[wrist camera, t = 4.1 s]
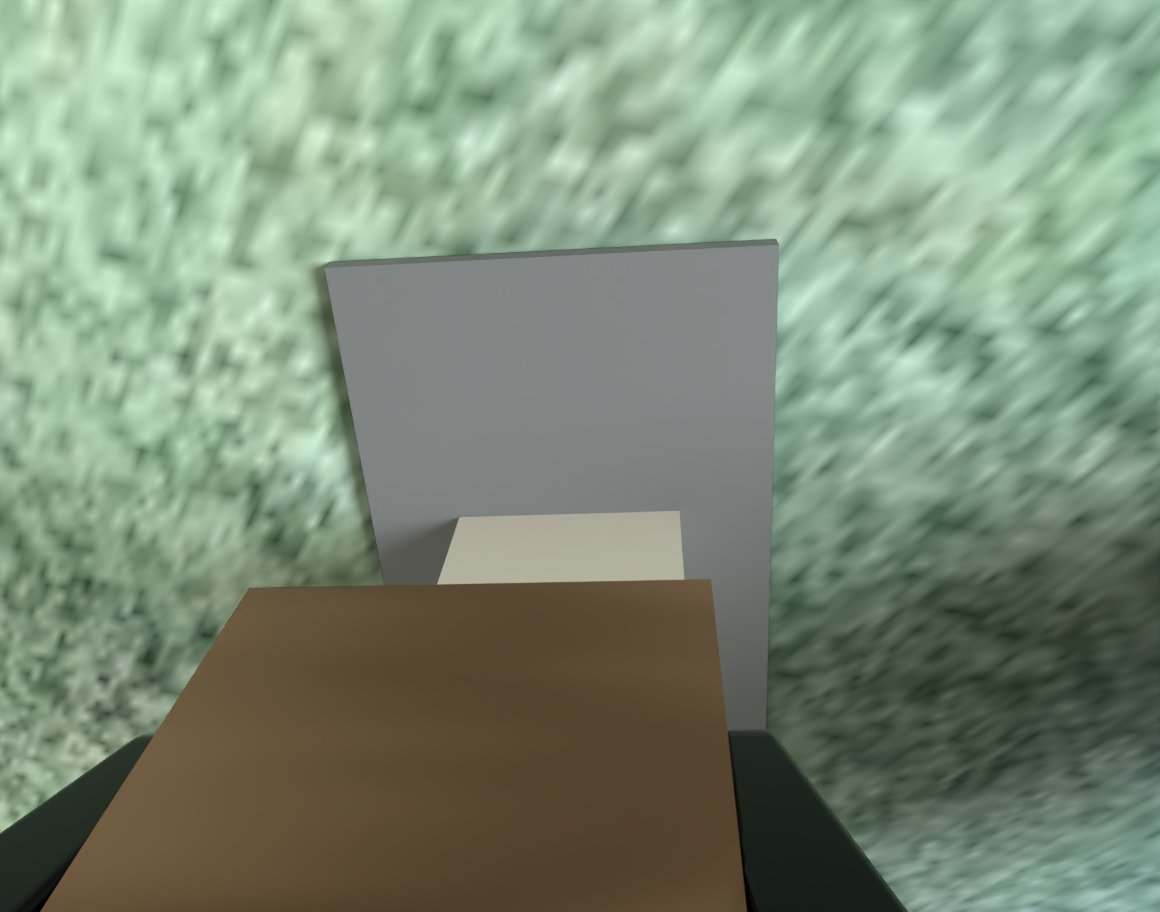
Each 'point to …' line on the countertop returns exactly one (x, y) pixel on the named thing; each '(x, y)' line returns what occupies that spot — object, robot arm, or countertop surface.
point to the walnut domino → (435, 759)
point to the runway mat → (575, 408)
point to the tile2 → (565, 548)
